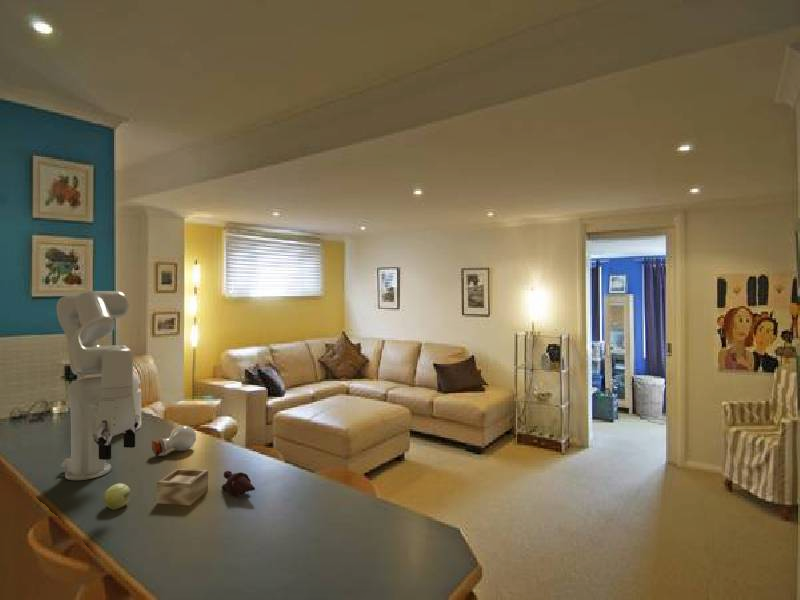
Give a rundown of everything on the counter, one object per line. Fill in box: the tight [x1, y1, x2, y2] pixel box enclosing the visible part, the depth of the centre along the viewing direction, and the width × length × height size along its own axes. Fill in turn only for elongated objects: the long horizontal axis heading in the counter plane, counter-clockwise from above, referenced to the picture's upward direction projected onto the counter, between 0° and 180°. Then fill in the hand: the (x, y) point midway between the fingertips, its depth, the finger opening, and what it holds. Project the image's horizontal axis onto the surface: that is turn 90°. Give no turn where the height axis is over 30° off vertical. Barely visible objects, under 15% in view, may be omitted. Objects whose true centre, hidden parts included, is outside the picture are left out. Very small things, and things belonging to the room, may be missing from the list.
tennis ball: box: [103, 483, 132, 511], centre depth 129 cm, size 6×7×7 cm
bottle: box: [121, 370, 142, 434], centre depth 198 cm, size 14×14×28 cm
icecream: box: [221, 470, 256, 498], centre depth 137 cm, size 7×7×15 cm
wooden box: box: [156, 468, 209, 506], centre depth 136 cm, size 10×10×6 cm
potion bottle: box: [151, 425, 197, 458], centre depth 172 cm, size 9×10×15 cm
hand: (117, 453), depth 129 cm, fingers open, 9 cm apart
